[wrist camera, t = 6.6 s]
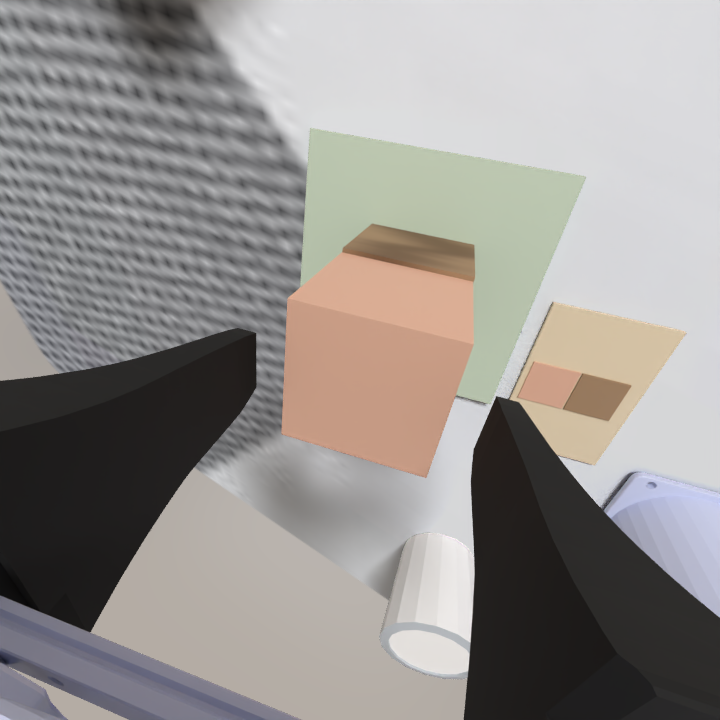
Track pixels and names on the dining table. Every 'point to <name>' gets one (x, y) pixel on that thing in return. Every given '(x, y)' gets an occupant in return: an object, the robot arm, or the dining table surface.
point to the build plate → (444, 225)
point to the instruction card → (589, 376)
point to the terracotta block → (376, 359)
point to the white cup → (431, 607)
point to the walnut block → (415, 251)
